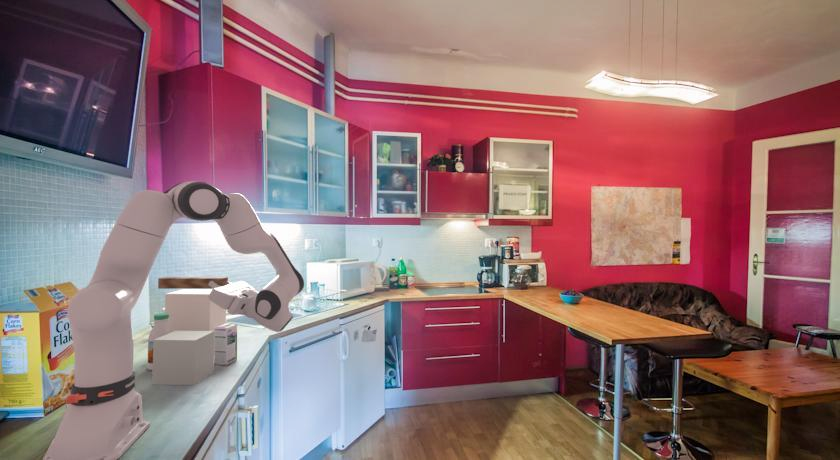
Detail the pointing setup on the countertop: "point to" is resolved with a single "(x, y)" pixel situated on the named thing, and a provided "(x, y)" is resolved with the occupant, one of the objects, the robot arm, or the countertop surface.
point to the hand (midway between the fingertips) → (214, 281)
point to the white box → (193, 310)
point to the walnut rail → (190, 282)
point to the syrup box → (225, 344)
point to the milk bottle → (157, 334)
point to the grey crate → (183, 357)
